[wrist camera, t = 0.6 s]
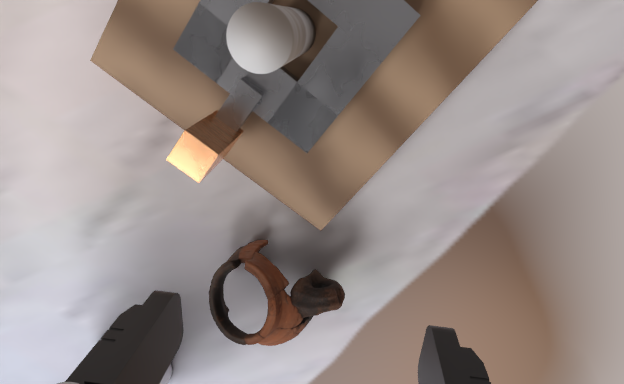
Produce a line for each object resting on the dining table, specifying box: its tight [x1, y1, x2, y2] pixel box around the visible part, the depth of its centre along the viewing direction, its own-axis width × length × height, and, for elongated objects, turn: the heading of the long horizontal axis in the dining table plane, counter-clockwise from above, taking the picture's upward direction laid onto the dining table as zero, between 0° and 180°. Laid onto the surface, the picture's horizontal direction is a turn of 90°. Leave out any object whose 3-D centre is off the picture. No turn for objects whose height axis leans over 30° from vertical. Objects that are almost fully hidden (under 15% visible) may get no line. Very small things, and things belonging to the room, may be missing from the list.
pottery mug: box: [209, 240, 345, 346], centre depth 35 cm, size 12×10×8 cm
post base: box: [90, 0, 538, 231], centre depth 23 cm, size 22×22×12 cm
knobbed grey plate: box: [166, 0, 421, 183], centre depth 24 cm, size 16×12×7 cm
